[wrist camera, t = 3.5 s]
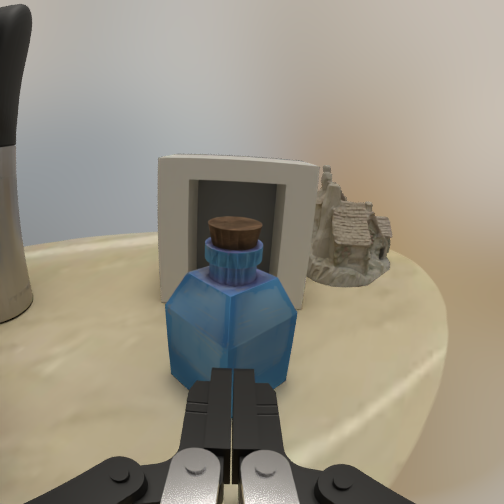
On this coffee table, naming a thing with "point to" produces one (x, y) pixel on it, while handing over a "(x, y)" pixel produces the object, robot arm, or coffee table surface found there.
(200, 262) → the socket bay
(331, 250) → the ceramic cottage
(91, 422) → the coffee table surface
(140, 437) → the coffee table surface
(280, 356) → the perfume bottle
